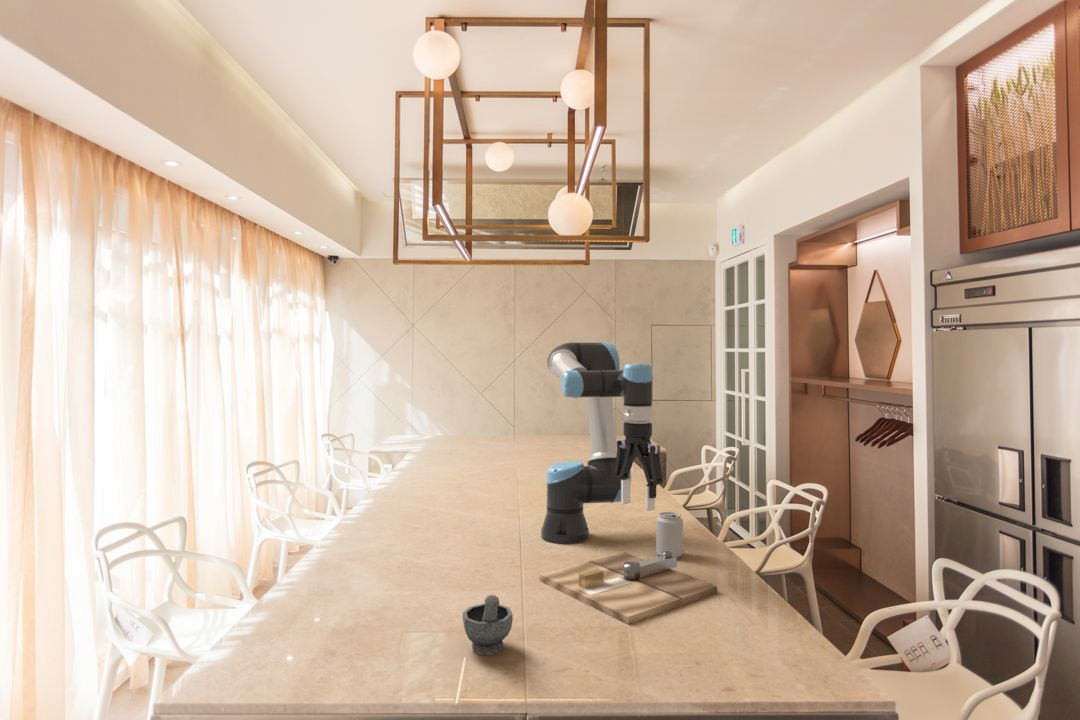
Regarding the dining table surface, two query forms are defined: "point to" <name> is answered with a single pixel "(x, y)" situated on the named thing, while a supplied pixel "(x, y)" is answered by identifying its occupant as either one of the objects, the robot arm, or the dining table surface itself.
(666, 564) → the bar
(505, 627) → the mortar and pestle
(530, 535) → the dining table surface
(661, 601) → the door board
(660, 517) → the can
